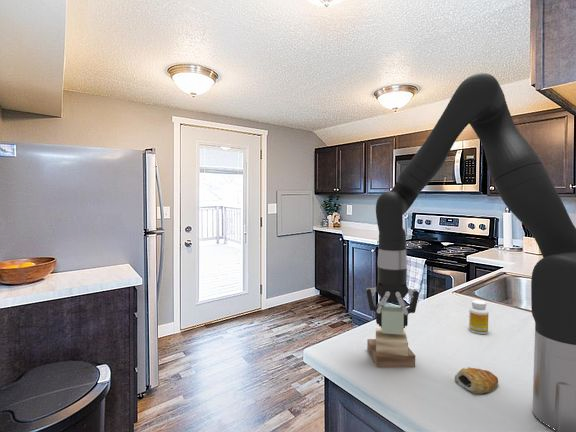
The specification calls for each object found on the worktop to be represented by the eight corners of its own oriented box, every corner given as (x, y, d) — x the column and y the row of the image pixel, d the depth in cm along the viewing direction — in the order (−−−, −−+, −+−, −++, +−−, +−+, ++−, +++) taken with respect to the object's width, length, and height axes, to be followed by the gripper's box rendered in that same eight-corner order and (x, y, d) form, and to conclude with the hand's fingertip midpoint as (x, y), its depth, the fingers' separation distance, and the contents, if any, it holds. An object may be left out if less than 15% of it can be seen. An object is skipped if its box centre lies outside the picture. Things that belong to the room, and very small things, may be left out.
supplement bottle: (490, 335, 103) (491, 305, 102) (472, 333, 104) (473, 304, 103) (484, 328, 108) (484, 299, 107) (466, 327, 109) (467, 299, 108)
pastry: (481, 374, 81) (482, 359, 80) (507, 389, 74) (507, 373, 74) (451, 381, 78) (452, 366, 78) (476, 398, 71) (476, 381, 71)
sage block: (403, 334, 85) (403, 312, 85) (382, 333, 87) (382, 311, 86) (400, 326, 91) (400, 305, 91) (380, 325, 92) (380, 304, 92)
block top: (407, 356, 84) (408, 342, 84) (376, 352, 86) (376, 339, 86) (404, 342, 91) (404, 330, 91) (375, 339, 93) (375, 327, 93)
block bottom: (415, 368, 84) (415, 355, 84) (377, 369, 84) (377, 356, 84) (401, 350, 94) (401, 338, 94) (367, 350, 94) (367, 339, 94)
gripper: (365, 267, 85) (365, 330, 86) (423, 269, 82) (422, 333, 83) (364, 261, 93) (364, 319, 94) (417, 263, 90) (416, 322, 91)
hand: (391, 325), depth 89 cm, fingers closed on sage block, 5 cm apart
